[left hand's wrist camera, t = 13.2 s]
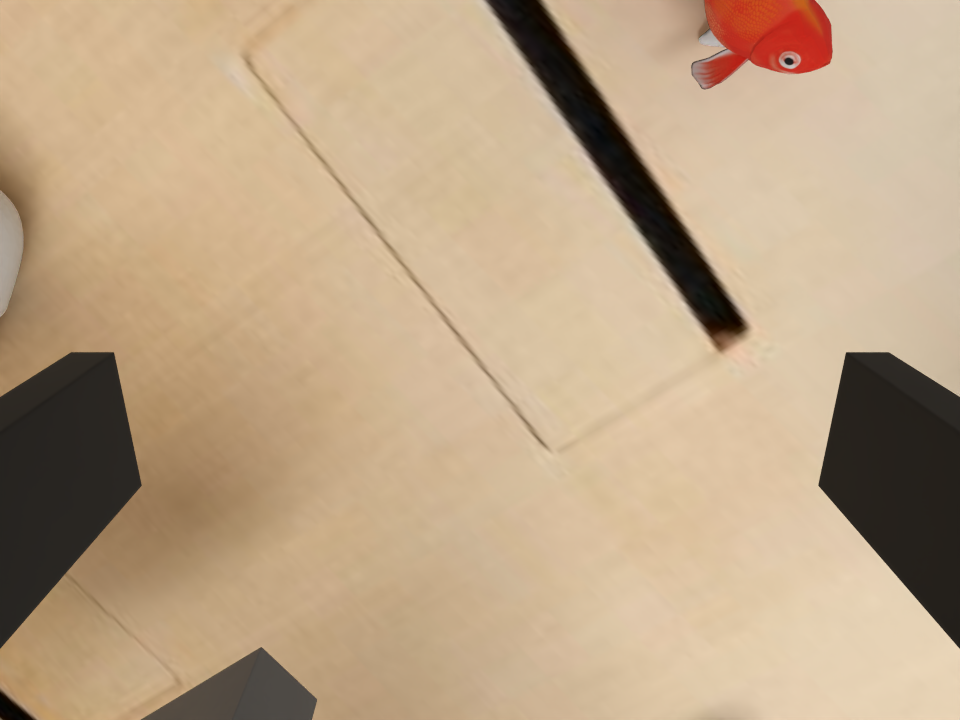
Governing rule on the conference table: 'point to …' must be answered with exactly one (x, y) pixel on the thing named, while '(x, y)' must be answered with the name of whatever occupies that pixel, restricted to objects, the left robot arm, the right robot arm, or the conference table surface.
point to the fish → (764, 37)
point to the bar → (243, 694)
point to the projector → (9, 249)
